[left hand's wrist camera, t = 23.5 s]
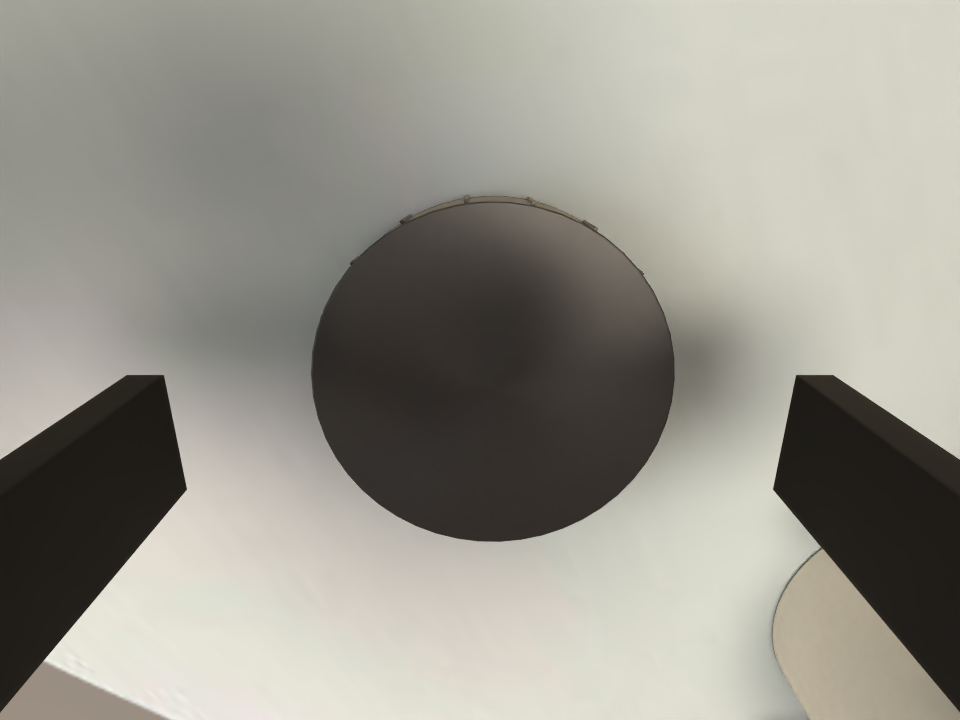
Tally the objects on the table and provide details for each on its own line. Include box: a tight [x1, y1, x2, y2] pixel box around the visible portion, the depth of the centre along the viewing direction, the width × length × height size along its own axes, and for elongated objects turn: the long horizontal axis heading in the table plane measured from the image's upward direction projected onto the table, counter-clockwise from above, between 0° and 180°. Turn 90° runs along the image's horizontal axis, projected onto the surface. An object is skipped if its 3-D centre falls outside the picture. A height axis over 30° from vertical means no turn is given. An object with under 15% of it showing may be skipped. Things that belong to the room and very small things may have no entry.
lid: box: [311, 195, 674, 542], centre depth 18 cm, size 10×11×2 cm
